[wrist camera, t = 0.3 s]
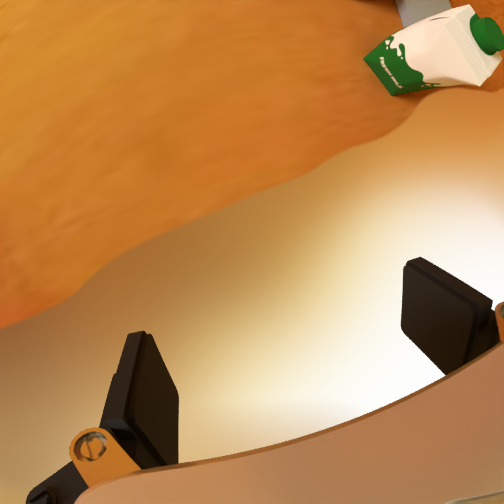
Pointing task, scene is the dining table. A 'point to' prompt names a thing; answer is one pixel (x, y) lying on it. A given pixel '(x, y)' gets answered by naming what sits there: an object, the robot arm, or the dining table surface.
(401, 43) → the soya milk
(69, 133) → the dining table surface
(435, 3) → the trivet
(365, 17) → the dining table surface
